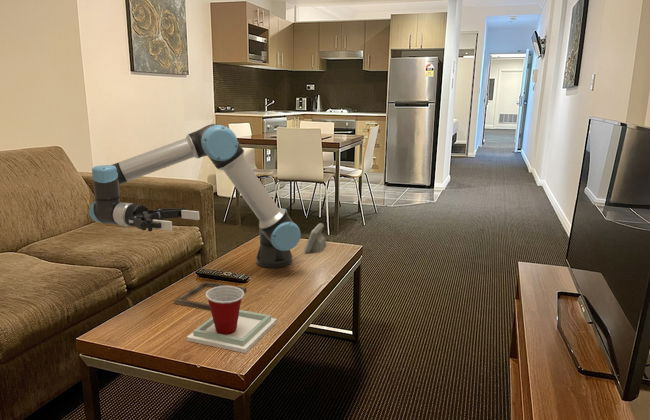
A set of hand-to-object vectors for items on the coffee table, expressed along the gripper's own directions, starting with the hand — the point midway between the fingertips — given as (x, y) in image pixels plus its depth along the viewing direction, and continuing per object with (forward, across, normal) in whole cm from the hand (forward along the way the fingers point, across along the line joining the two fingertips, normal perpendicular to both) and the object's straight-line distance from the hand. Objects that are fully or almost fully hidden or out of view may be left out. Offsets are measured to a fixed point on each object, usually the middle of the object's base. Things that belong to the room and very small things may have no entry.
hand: (185, 220), depth 144 cm
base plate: (+21, +8, -30) cm, 37 cm away
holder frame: (+1, -10, -30) cm, 32 cm away
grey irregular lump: (+14, -73, -30) cm, 80 cm away
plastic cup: (+20, +10, -29) cm, 37 cm away
